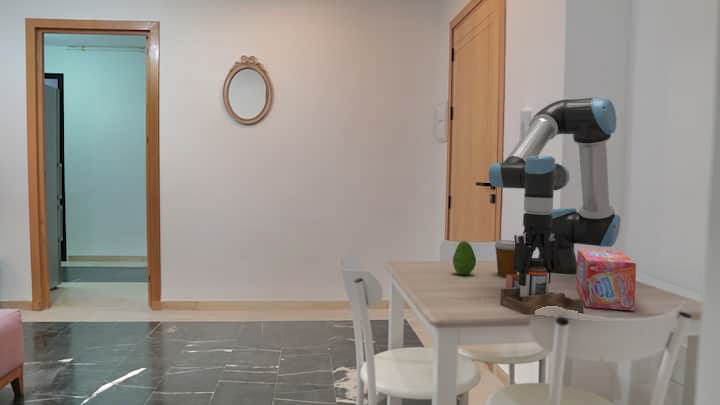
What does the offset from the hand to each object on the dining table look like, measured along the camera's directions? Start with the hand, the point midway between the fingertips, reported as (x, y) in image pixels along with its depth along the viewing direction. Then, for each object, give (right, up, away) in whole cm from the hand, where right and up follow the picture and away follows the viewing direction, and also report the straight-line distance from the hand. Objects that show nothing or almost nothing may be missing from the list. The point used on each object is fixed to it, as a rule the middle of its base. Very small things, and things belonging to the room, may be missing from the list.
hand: (533, 296), depth 151 cm
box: (+24, -3, +12) cm, 27 cm away
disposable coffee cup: (+4, 0, +42) cm, 42 cm away
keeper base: (+2, -3, -1) cm, 4 cm away
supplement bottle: (0, -1, 0) cm, 1 cm away
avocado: (-11, 0, +42) cm, 44 cm away
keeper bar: (+2, -2, +15) cm, 15 cm away
